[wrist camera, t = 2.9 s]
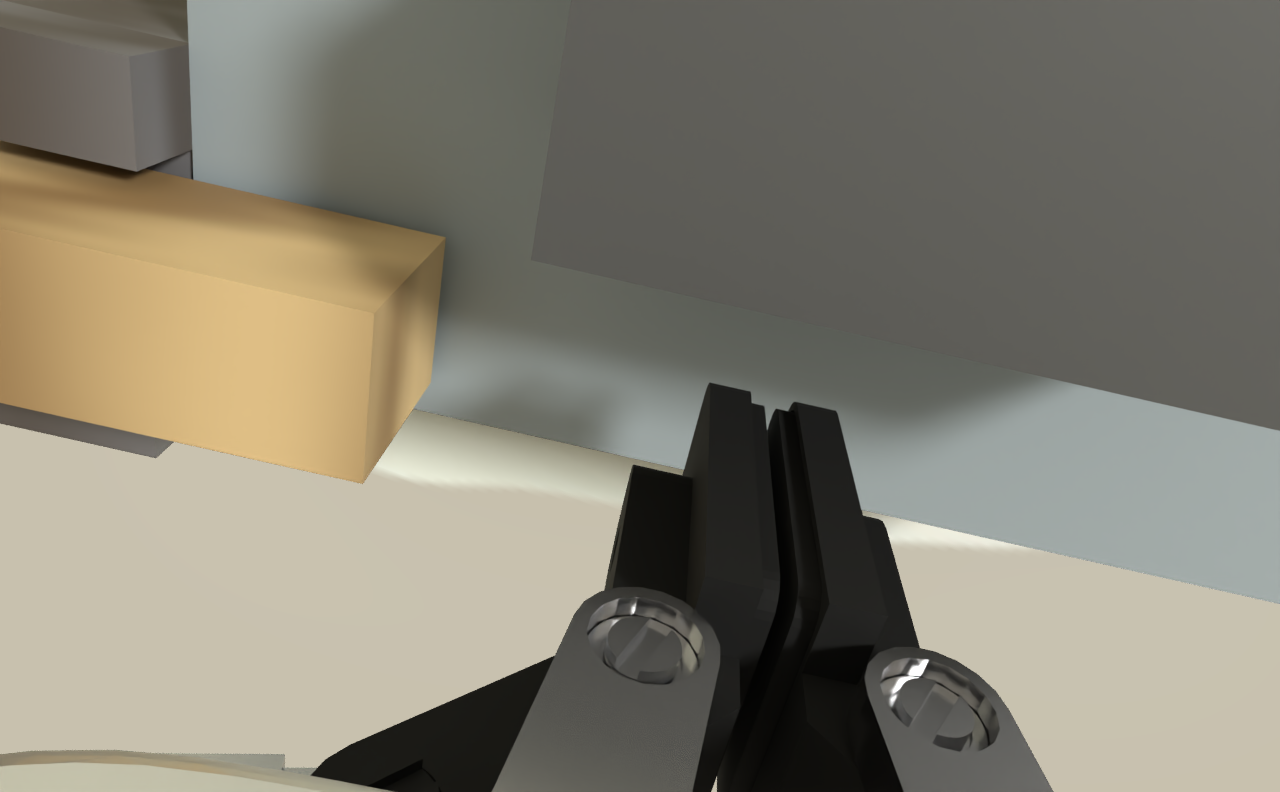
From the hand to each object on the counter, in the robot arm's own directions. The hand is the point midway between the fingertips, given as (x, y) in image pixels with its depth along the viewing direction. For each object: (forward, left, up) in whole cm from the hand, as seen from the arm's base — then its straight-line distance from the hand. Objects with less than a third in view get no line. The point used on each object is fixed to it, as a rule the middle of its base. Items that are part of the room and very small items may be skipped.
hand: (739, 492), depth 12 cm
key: (+10, 0, -3) cm, 10 cm away
